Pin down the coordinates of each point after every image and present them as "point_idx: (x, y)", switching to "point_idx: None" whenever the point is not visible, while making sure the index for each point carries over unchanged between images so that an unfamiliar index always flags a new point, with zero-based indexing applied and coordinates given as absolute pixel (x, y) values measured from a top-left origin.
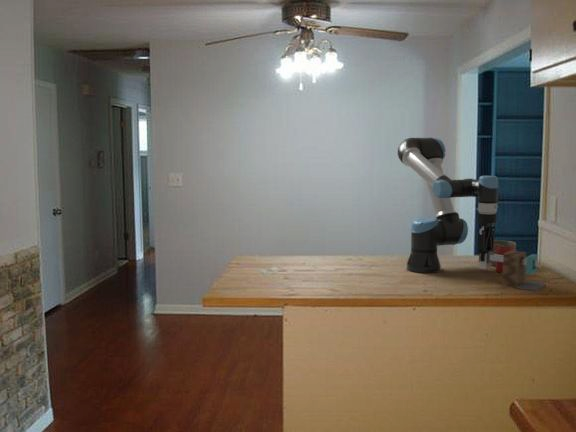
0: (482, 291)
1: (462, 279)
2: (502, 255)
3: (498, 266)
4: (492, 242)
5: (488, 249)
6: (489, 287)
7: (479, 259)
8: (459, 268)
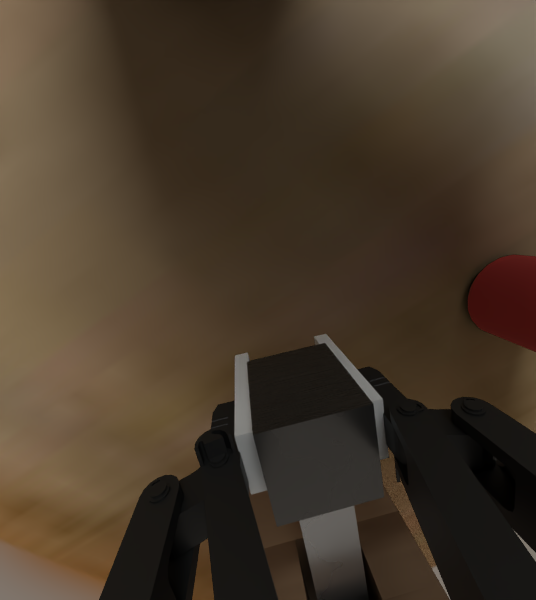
0: (56, 465)
1: (173, 256)
2: (344, 562)
3: (497, 295)
4: (534, 548)
5: (400, 450)
6: (152, 439)
7: (249, 379)
8: (423, 45)
